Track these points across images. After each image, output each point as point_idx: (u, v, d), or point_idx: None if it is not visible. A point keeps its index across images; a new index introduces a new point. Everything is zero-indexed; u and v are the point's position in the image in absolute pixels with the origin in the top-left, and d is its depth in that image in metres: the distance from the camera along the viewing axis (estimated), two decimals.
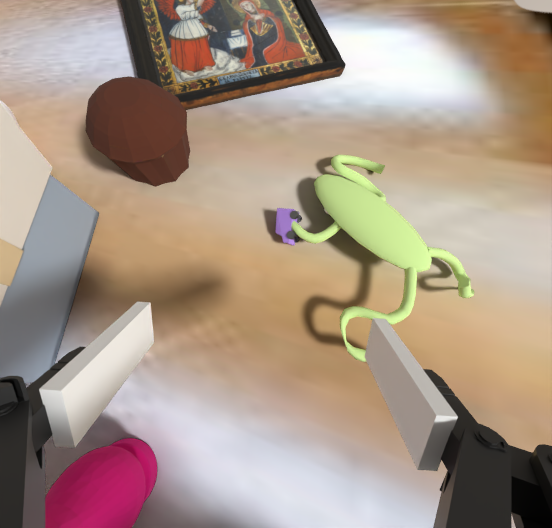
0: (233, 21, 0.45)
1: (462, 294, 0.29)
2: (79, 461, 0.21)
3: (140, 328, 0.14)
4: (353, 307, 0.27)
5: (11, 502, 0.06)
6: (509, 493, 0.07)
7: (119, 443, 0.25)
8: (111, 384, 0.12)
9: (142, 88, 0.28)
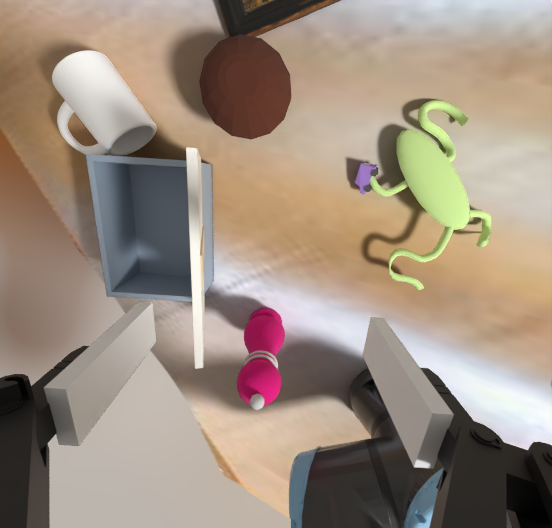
0: None
1: (478, 244, 0.42)
2: (256, 323, 0.44)
3: (143, 327, 0.14)
4: (401, 250, 0.42)
5: (16, 500, 0.06)
6: (504, 490, 0.07)
7: (263, 311, 0.48)
8: (114, 383, 0.12)
9: (258, 68, 0.30)
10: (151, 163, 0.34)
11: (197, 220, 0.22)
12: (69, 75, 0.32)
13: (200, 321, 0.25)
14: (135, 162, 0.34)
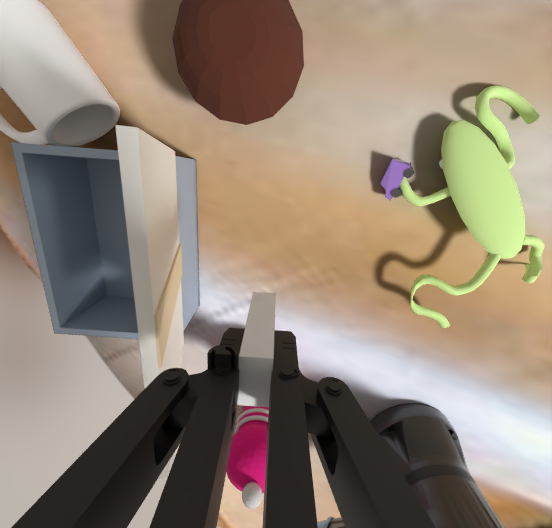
0: None
1: (526, 279, 0.33)
2: None
3: None
4: (429, 277, 0.32)
5: (211, 456, 0.07)
6: (303, 406, 0.09)
7: None
8: None
9: (256, 14, 0.20)
10: (105, 156, 0.24)
11: (145, 259, 0.12)
12: None
13: None
14: (82, 155, 0.24)
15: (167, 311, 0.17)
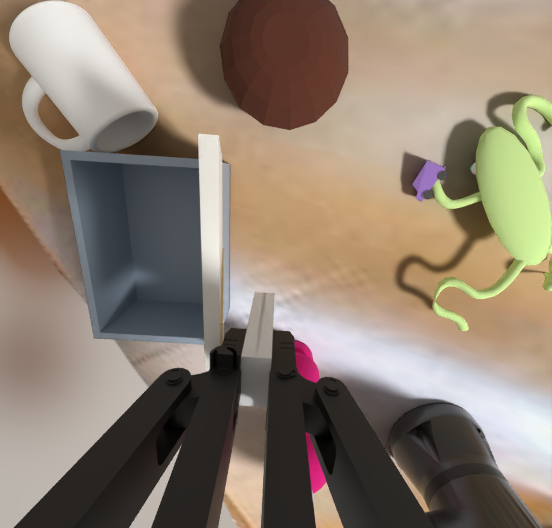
0: None
1: (546, 287, 0.34)
2: None
3: None
4: (454, 280, 0.33)
5: (213, 457, 0.07)
6: (301, 406, 0.09)
7: None
8: None
9: (310, 23, 0.20)
10: (152, 163, 0.24)
11: (216, 266, 0.12)
12: (33, 36, 0.22)
13: None
14: (130, 161, 0.24)
15: (223, 317, 0.17)
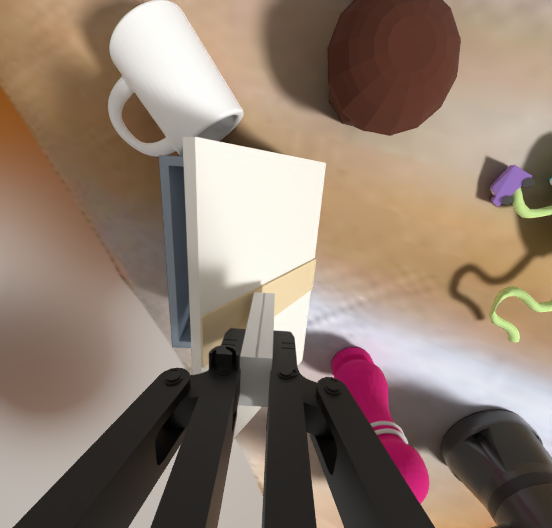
0: None
1: None
2: (355, 373, 0.34)
3: None
4: (519, 290, 0.32)
5: (212, 456, 0.07)
6: (302, 406, 0.09)
7: (353, 353, 0.39)
8: None
9: (438, 26, 0.20)
10: None
11: (196, 261, 0.13)
12: (139, 37, 0.21)
13: None
14: None
15: (242, 319, 0.17)
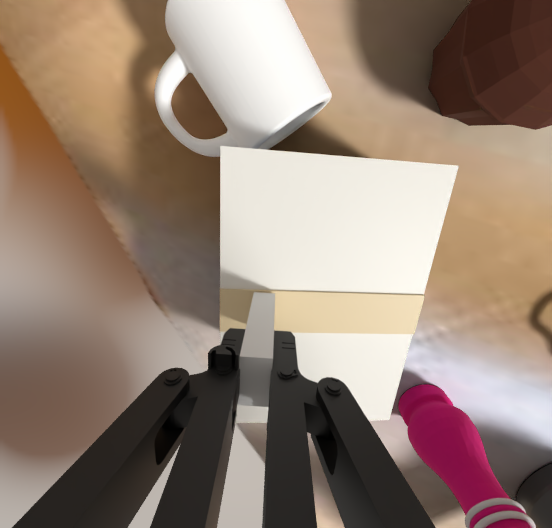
0: None
1: None
2: (443, 424, 0.28)
3: None
4: None
5: (211, 456, 0.07)
6: (303, 406, 0.09)
7: (430, 393, 0.32)
8: None
9: None
10: None
11: (220, 243, 0.17)
12: None
13: None
14: None
15: None
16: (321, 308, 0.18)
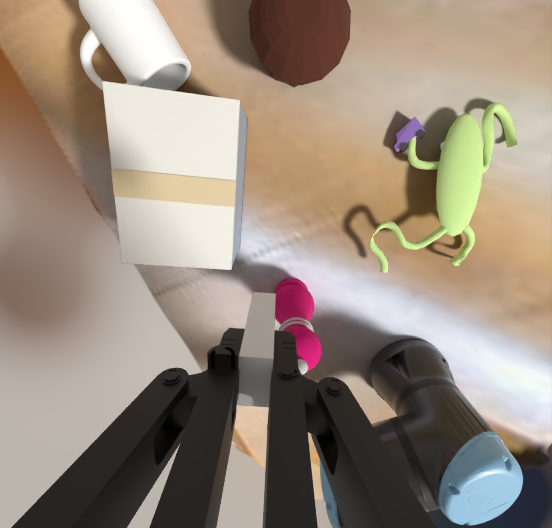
0: None
1: (452, 261, 0.43)
2: (286, 292, 0.42)
3: None
4: (394, 223, 0.40)
5: (211, 456, 0.07)
6: (303, 406, 0.09)
7: (291, 281, 0.46)
8: None
9: None
10: None
11: (108, 139, 0.30)
12: None
13: (118, 223, 0.33)
14: None
15: (141, 185, 0.32)
16: (173, 185, 0.32)
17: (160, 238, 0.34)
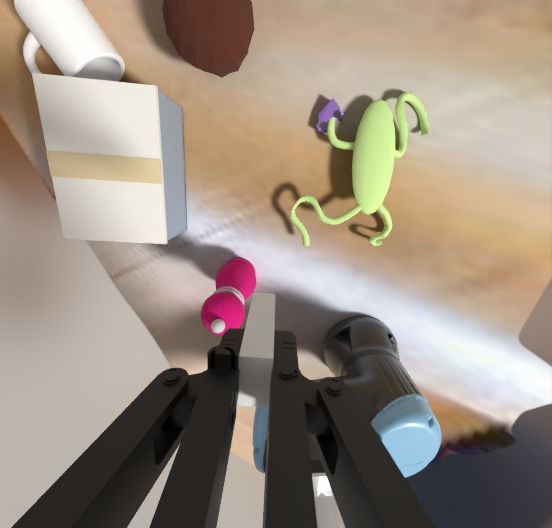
0: None
1: (369, 240, 0.46)
2: (226, 267, 0.45)
3: None
4: (312, 197, 0.43)
5: (211, 456, 0.07)
6: (303, 406, 0.09)
7: (236, 260, 0.49)
8: None
9: None
10: None
11: (42, 124, 0.34)
12: None
13: (57, 201, 0.37)
14: None
15: (75, 165, 0.35)
16: (103, 164, 0.35)
17: (97, 215, 0.38)
